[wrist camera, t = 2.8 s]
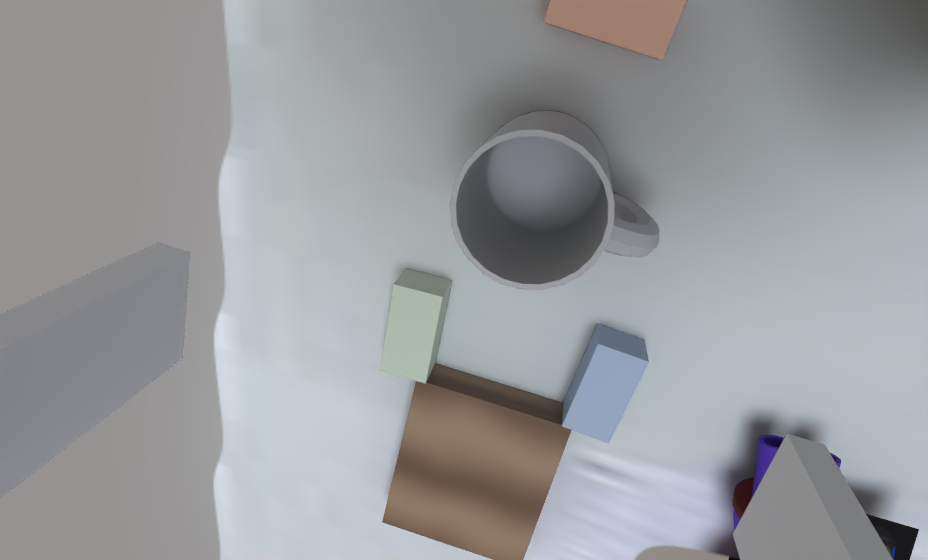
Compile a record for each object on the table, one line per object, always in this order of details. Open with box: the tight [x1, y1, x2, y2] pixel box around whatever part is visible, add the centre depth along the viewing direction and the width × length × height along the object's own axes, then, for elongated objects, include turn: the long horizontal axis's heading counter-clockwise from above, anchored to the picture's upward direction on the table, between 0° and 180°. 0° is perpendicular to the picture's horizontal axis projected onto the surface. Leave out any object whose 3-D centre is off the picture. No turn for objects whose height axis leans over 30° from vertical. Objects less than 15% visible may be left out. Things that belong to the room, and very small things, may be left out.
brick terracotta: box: [543, 0, 687, 60], centre depth 31 cm, size 6×3×3 cm, turn 73°
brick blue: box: [562, 324, 649, 443], centre depth 38 cm, size 6×3×3 cm, turn 163°
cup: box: [450, 111, 659, 290], centre depth 31 cm, size 7×10×9 cm
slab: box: [382, 364, 571, 560], centre depth 42 cm, size 12×10×2 cm
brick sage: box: [380, 269, 452, 384], centre depth 39 cm, size 6×3×3 cm, turn 169°
